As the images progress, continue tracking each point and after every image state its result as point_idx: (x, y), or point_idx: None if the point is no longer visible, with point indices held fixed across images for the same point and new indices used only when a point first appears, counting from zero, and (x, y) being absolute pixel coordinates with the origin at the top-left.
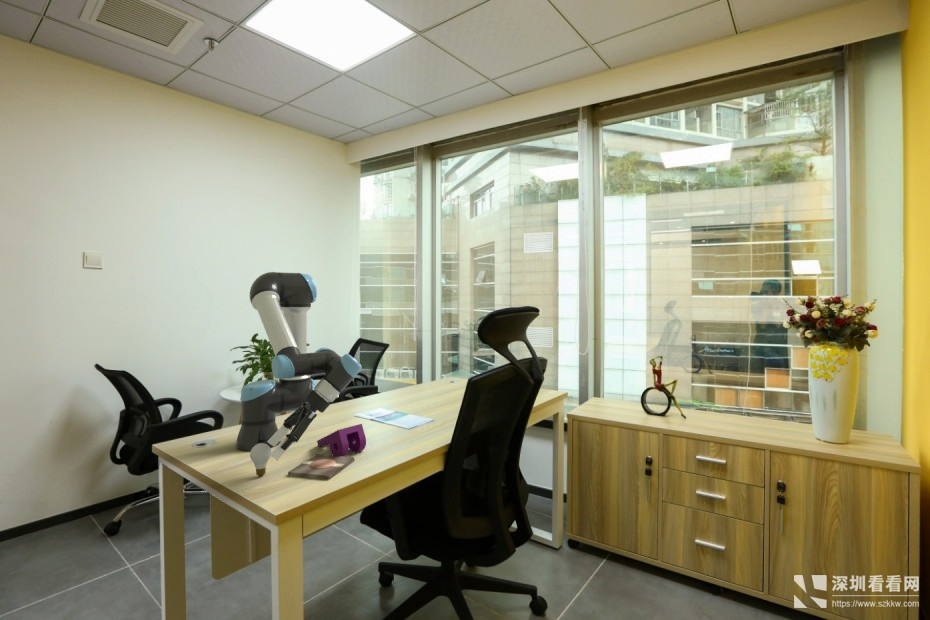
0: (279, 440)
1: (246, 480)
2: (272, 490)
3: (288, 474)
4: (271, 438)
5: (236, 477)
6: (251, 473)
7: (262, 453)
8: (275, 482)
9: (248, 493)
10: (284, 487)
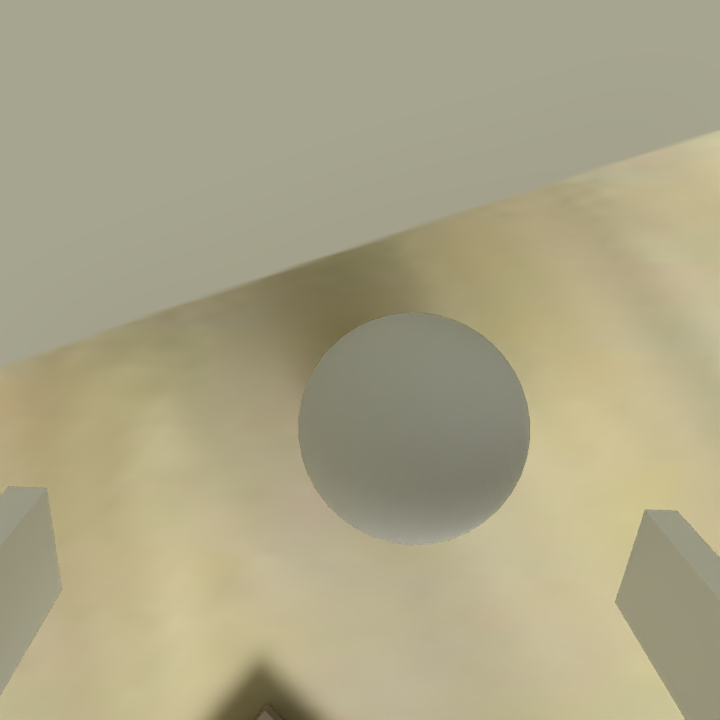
0: (672, 689)
1: None
2: None
3: (264, 709)
4: (679, 562)
5: None
6: None
7: (304, 428)
8: (174, 574)
9: (79, 370)
10: None
